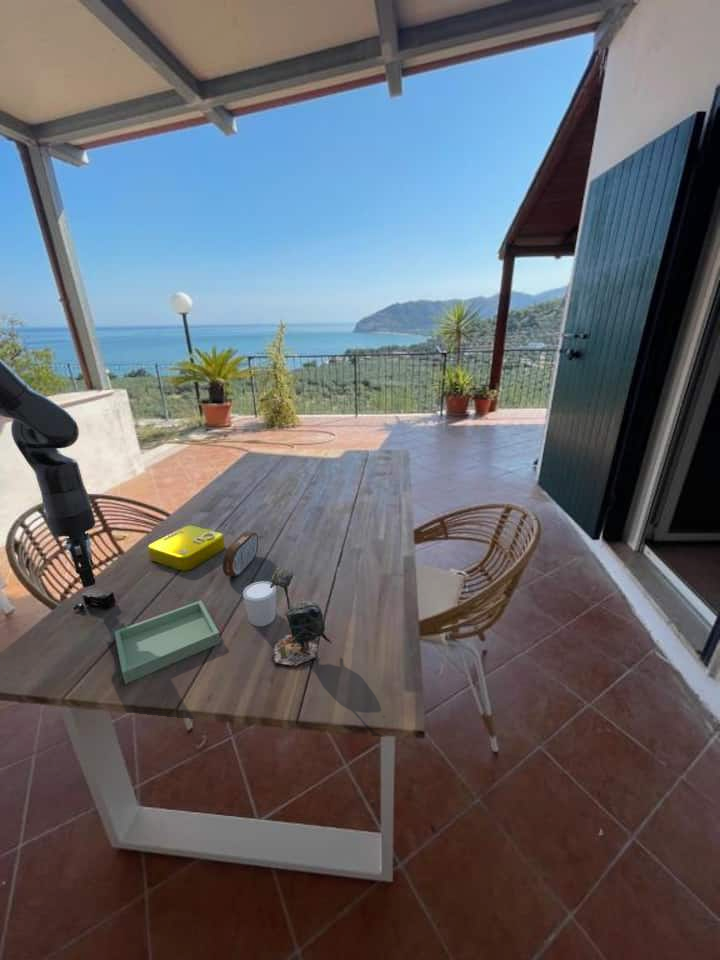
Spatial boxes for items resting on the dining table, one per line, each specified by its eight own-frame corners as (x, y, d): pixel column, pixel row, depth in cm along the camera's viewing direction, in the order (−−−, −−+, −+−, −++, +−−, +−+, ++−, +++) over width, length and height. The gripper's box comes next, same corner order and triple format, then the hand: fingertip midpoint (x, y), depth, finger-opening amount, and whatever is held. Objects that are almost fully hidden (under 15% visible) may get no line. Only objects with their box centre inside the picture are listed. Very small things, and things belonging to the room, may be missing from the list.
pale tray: (125, 684, 68) (122, 672, 67) (117, 641, 77) (114, 631, 76) (220, 643, 77) (219, 632, 76) (202, 609, 87) (201, 600, 86)
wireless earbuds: (91, 598, 90) (88, 586, 89) (117, 603, 89) (114, 591, 88) (73, 611, 86) (69, 599, 85) (100, 616, 85) (96, 603, 84)
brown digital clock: (251, 552, 110) (248, 525, 107) (261, 553, 110) (258, 526, 107) (223, 582, 96) (219, 552, 94) (234, 583, 96) (231, 553, 93)
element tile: (191, 536, 119) (188, 522, 117) (228, 547, 113) (226, 532, 111) (147, 559, 106) (143, 544, 105) (185, 573, 100) (183, 557, 99)
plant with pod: (324, 673, 70) (320, 578, 63) (265, 664, 72) (254, 571, 65) (334, 641, 77) (332, 553, 71) (281, 634, 79) (273, 547, 73)
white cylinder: (239, 623, 82) (235, 595, 80) (258, 604, 88) (255, 577, 86) (266, 631, 80) (263, 603, 78) (284, 611, 86) (282, 584, 84)
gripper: (47, 501, 83) (67, 567, 88) (44, 526, 72) (68, 598, 78) (89, 493, 87) (106, 556, 93) (92, 515, 76) (111, 585, 82)
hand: (88, 575), depth 85 cm, fingers open, 8 cm apart
